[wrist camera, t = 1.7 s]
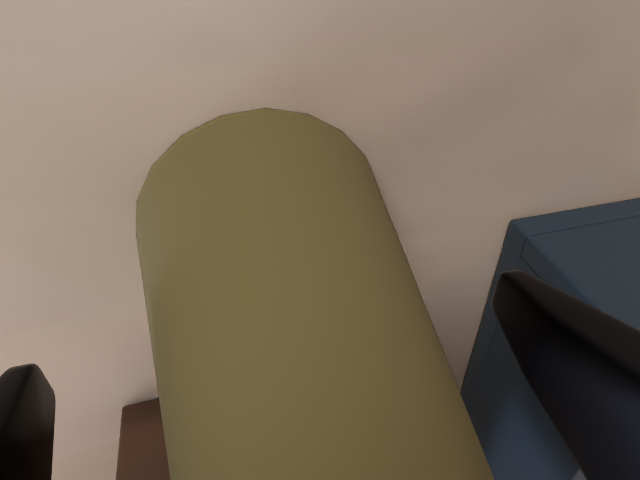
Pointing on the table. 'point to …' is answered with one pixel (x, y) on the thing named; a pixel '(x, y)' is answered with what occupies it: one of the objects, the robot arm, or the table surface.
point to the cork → (290, 314)
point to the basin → (575, 279)
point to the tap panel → (142, 443)
